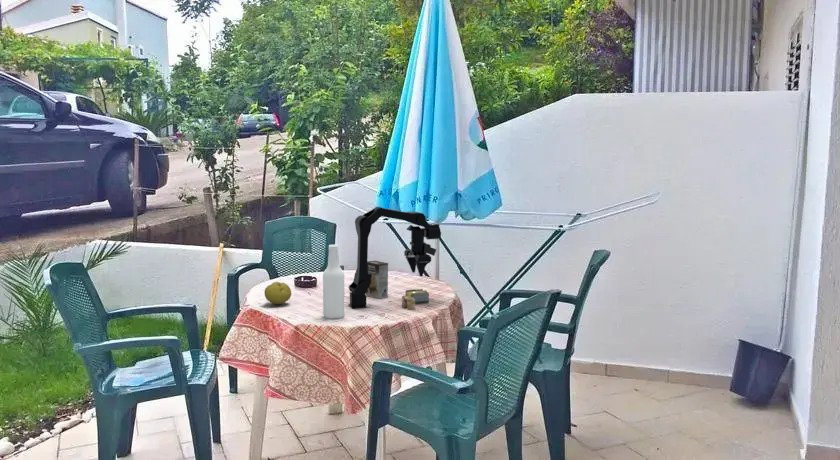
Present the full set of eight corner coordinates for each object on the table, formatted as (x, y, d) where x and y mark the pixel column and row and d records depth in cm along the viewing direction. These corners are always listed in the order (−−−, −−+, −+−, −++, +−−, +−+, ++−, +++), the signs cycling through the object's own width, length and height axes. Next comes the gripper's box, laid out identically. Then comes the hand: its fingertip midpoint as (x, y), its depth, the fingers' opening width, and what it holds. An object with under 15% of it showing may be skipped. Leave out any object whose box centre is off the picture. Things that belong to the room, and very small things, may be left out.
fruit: (262, 303, 326) (261, 281, 325) (288, 300, 331) (287, 279, 330) (267, 308, 316) (266, 286, 315) (294, 306, 321) (293, 283, 319)
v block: (412, 304, 326) (412, 294, 325) (405, 300, 334) (405, 289, 333) (428, 303, 329) (429, 292, 328) (421, 298, 337) (421, 288, 336)
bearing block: (408, 309, 316) (408, 299, 316) (402, 305, 324) (402, 295, 323) (415, 309, 317) (415, 299, 317) (408, 305, 325) (408, 295, 324)
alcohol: (319, 317, 302) (318, 246, 298) (329, 313, 310) (328, 242, 306) (338, 320, 299) (338, 247, 294) (348, 315, 307) (347, 244, 303)
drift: (404, 309, 318) (404, 303, 318) (402, 307, 321) (402, 302, 320) (414, 308, 320) (414, 302, 320) (413, 306, 322) (413, 301, 322)
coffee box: (364, 295, 342) (364, 261, 340) (374, 293, 347) (374, 260, 344) (378, 299, 336) (378, 264, 333) (388, 296, 340) (388, 262, 338)
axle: (408, 299, 328) (408, 292, 328) (406, 297, 331) (406, 291, 330) (427, 297, 331) (427, 291, 331) (424, 295, 334) (425, 289, 334)
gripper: (442, 242, 322) (442, 277, 324) (426, 236, 339) (426, 269, 341) (418, 243, 318) (418, 278, 320) (403, 237, 335) (403, 271, 337)
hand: (417, 274), depth 330 cm, fingers open, 9 cm apart
